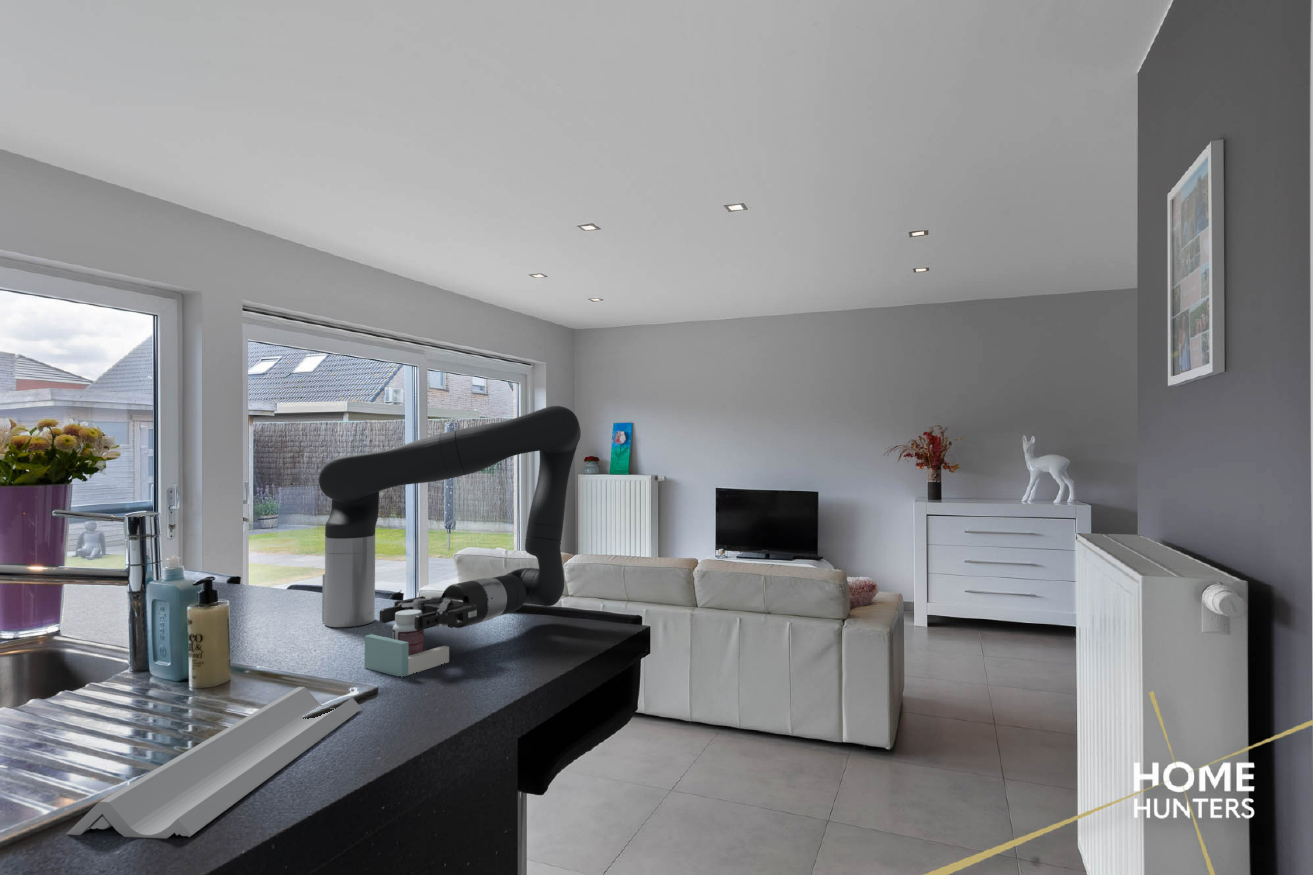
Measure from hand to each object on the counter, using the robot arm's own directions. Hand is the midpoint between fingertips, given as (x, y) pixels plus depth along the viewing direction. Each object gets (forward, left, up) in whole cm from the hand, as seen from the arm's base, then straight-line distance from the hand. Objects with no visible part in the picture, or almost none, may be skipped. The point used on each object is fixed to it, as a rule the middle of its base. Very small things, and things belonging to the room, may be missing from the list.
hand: (398, 619), depth 113 cm
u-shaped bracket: (0, +2, -8) cm, 8 cm away
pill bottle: (0, +2, -8) cm, 8 cm away
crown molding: (+14, -31, -8) cm, 35 cm away
